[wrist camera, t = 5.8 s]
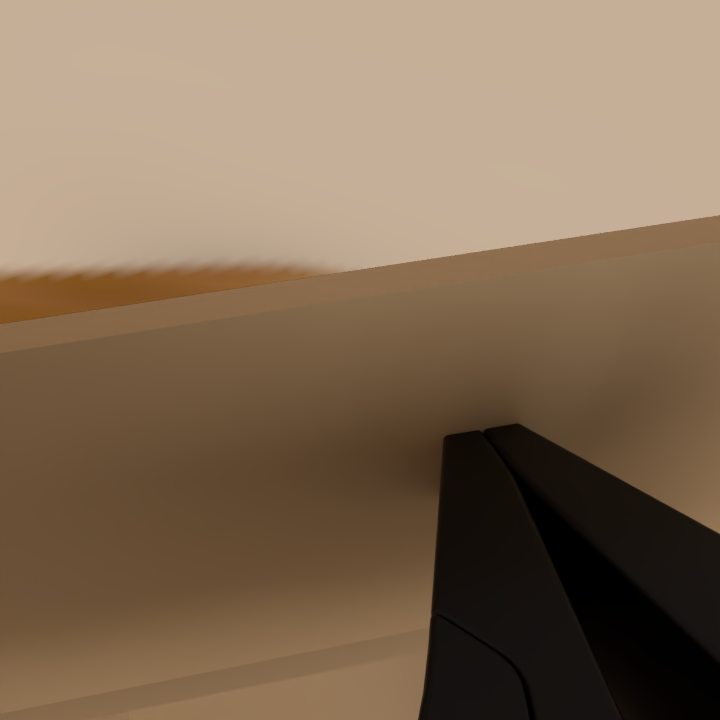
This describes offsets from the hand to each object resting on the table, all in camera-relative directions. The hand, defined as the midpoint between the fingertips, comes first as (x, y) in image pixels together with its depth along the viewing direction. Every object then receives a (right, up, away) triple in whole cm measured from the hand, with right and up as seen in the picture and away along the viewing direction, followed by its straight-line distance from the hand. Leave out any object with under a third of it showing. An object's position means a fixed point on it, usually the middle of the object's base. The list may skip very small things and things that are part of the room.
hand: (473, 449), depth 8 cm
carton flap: (0, -3, +3) cm, 4 cm away
